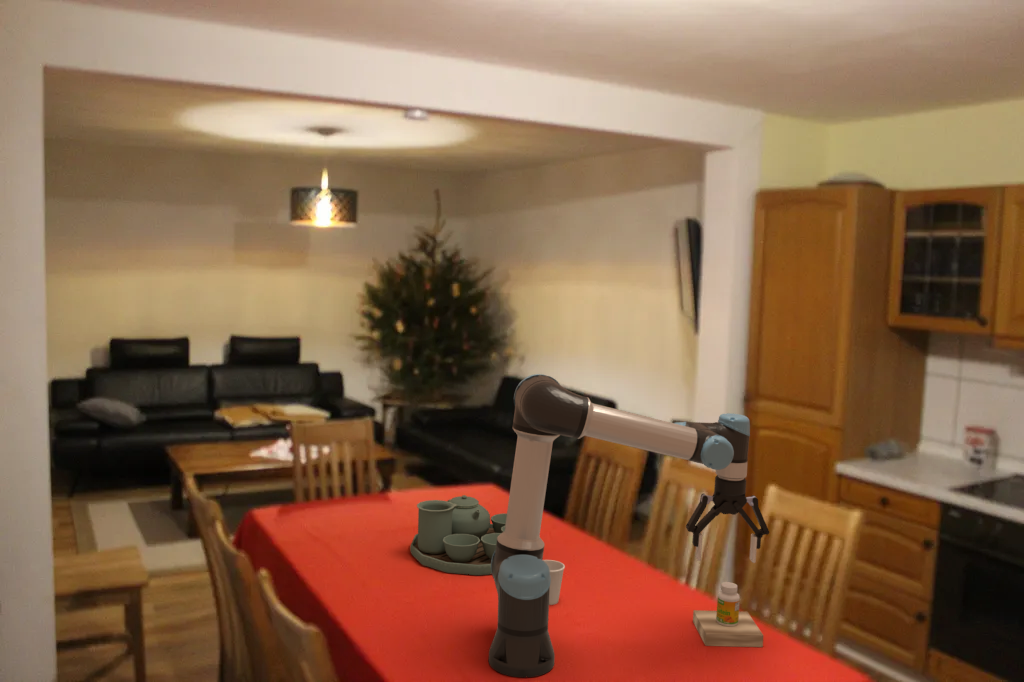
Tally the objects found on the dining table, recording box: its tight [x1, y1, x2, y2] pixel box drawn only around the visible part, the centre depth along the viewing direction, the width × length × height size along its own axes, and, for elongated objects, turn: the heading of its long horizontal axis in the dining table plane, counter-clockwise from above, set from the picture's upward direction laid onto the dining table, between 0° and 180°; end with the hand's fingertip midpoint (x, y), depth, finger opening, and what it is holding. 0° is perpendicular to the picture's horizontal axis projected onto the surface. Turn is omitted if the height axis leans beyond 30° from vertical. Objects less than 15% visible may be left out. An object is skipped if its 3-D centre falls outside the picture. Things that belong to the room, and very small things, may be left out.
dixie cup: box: [542, 559, 566, 606], centre depth 235 cm, size 8×8×10 cm
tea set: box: [409, 494, 507, 576], centre depth 271 cm, size 40×40×16 cm
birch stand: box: [692, 609, 764, 648], centre depth 219 cm, size 14×14×3 cm
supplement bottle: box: [716, 581, 741, 626], centre depth 218 cm, size 5×5×10 cm
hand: (725, 560), depth 217 cm, fingers open, 13 cm apart
